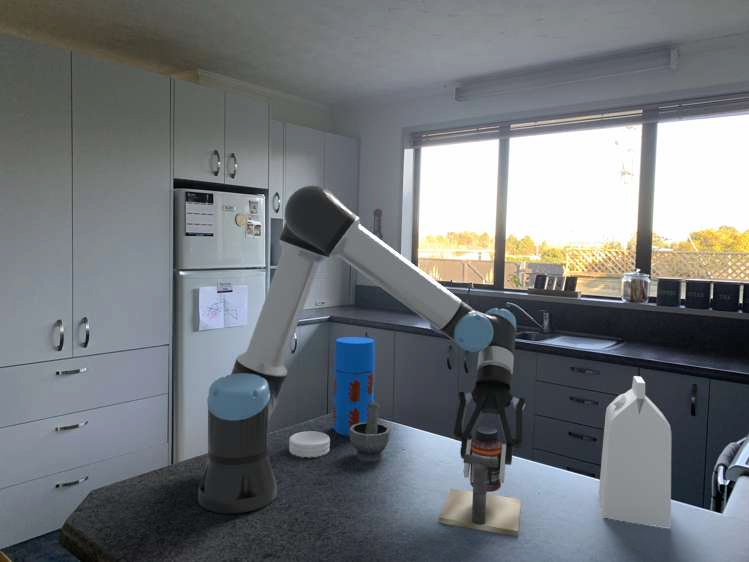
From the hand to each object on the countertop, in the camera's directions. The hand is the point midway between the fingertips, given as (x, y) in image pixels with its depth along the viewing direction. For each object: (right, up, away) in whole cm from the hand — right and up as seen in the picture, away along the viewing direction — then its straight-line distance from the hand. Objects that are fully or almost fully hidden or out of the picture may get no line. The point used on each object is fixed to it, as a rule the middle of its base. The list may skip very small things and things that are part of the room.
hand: (483, 476), depth 103 cm
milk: (+30, -8, +5) cm, 32 cm away
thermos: (-26, -4, +48) cm, 55 cm away
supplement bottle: (+1, -3, +4) cm, 5 cm away
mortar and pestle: (-22, -6, +30) cm, 37 cm away
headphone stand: (0, -8, +2) cm, 8 cm away
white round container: (-37, -5, +32) cm, 49 cm away
